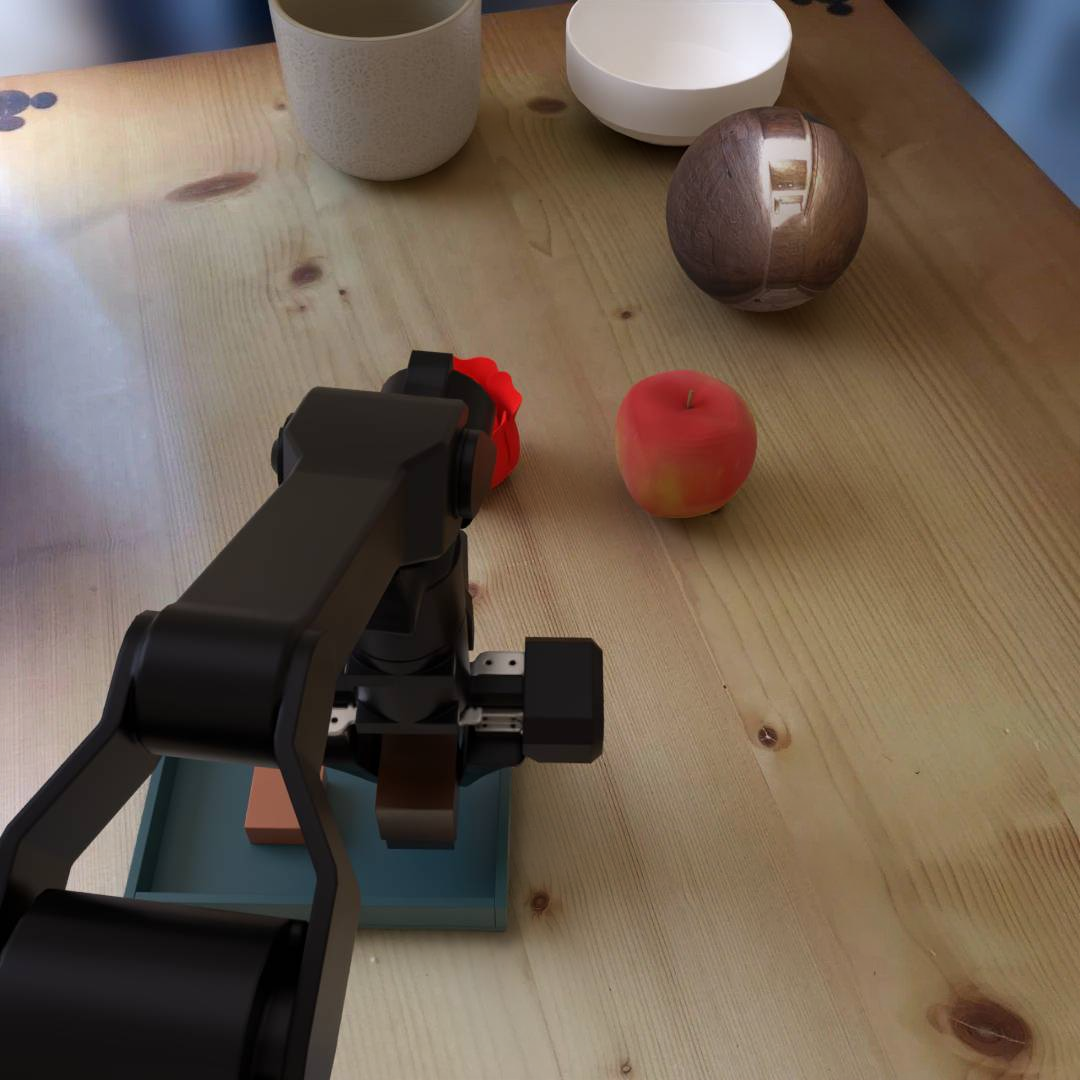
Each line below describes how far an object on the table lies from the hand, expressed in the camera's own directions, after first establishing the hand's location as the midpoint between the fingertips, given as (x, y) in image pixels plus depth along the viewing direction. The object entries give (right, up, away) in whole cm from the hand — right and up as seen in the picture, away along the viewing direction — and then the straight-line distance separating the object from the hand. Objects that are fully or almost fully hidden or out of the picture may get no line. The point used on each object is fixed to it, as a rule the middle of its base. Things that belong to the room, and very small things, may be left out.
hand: (424, 778), depth 71 cm
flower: (+1, +17, +21) cm, 27 cm away
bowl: (+18, +52, +49) cm, 74 cm away
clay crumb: (-8, -3, +4) cm, 9 cm away
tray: (-5, -3, +4) cm, 7 cm away
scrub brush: (0, -1, +1) cm, 1 cm away
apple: (+16, +16, +20) cm, 30 cm away
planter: (-7, +48, +45) cm, 66 cm away
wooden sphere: (+23, +33, +33) cm, 52 cm away
